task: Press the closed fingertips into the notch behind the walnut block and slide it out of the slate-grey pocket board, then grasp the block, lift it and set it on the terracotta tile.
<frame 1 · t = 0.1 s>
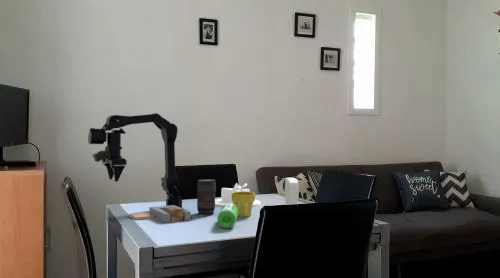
hand: (113, 180, 196), 15 cm above the table, fingers open, 9 cm apart
pocket board: (169, 217, 191), on the table
camera lens: (206, 214, 201), on the table
dish: (236, 204, 231), on the table
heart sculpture: (290, 223, 184), on the table
walnut block: (174, 220, 186), on the table
speaker: (228, 225, 179), on the table
plant pot: (242, 215, 199), on the table
terracotta tile: (141, 217, 191), on the table
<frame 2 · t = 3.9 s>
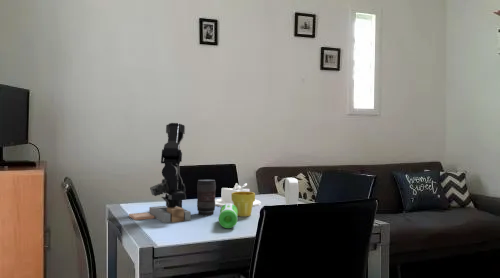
hand: (170, 214, 189), 2 cm above the table, fingers closed
walnut block: (175, 220, 185), on the table, touching gripper
everything else where it was.
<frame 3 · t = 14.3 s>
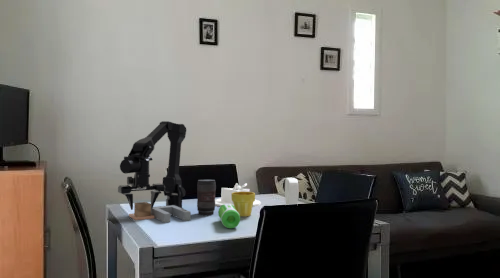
hand: (141, 208, 191), 3 cm above the table, fingers open, 8 cm apart
walnut block: (142, 215, 190), point 1 cm above the table, touching terracotta tile
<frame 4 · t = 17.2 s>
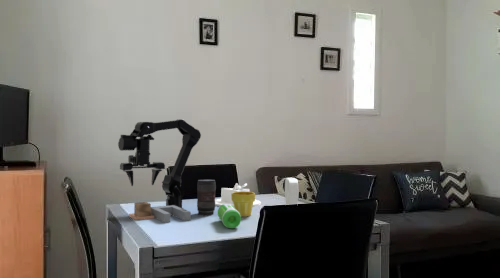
hand: (142, 185, 201), 12 cm above the table, fingers open, 9 cm apart
nothing on the table moved.
at the end: walnut block 0.8 cm off-centre on the terracotta tile, point 1.0 cm above the terracotta tile's base; walnut block tilted 0°; the gripper is holding nothing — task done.
